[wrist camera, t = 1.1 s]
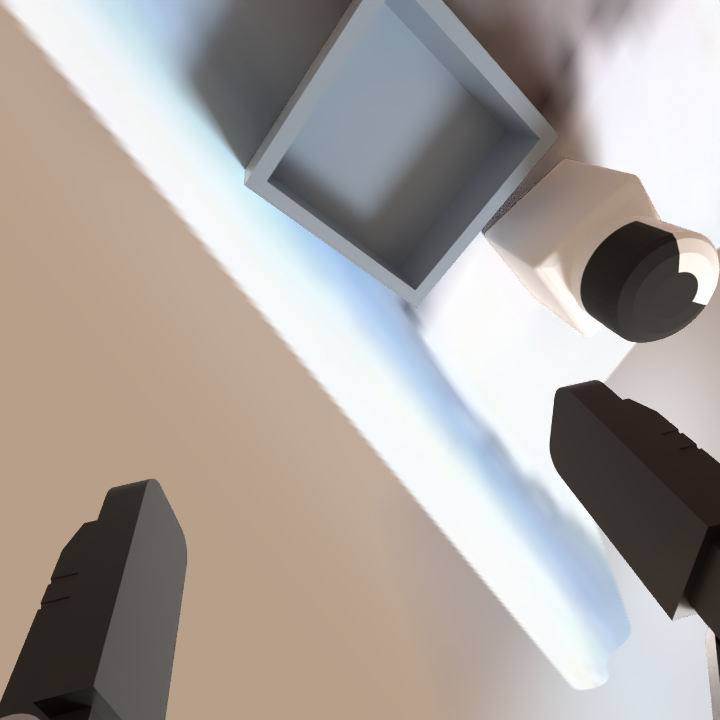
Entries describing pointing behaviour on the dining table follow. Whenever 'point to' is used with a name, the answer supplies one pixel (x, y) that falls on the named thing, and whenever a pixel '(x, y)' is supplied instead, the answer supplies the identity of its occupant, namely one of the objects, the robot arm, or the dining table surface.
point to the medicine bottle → (605, 254)
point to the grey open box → (400, 143)
